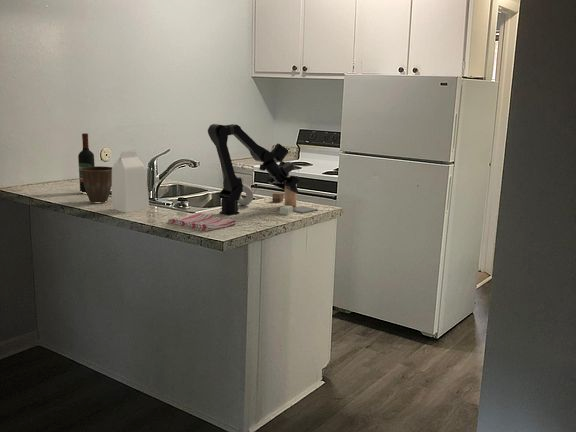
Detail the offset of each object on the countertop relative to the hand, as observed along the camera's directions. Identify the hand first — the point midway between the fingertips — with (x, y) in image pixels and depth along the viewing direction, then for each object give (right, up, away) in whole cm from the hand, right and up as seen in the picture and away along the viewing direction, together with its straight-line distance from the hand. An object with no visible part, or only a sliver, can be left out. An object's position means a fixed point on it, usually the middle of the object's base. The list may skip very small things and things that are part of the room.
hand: (293, 191), depth 283 cm
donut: (-23, -7, -1) cm, 24 cm away
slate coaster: (+4, -9, -9) cm, 13 cm away
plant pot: (-91, -5, +1) cm, 91 cm away
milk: (-72, -9, -14) cm, 74 cm away
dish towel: (-37, -15, -39) cm, 56 cm away
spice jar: (-1, -7, +1) cm, 7 cm away
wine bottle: (-104, 0, +24) cm, 106 cm away
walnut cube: (-7, -4, +11) cm, 14 cm away
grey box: (-3, -10, -16) cm, 19 cm away
